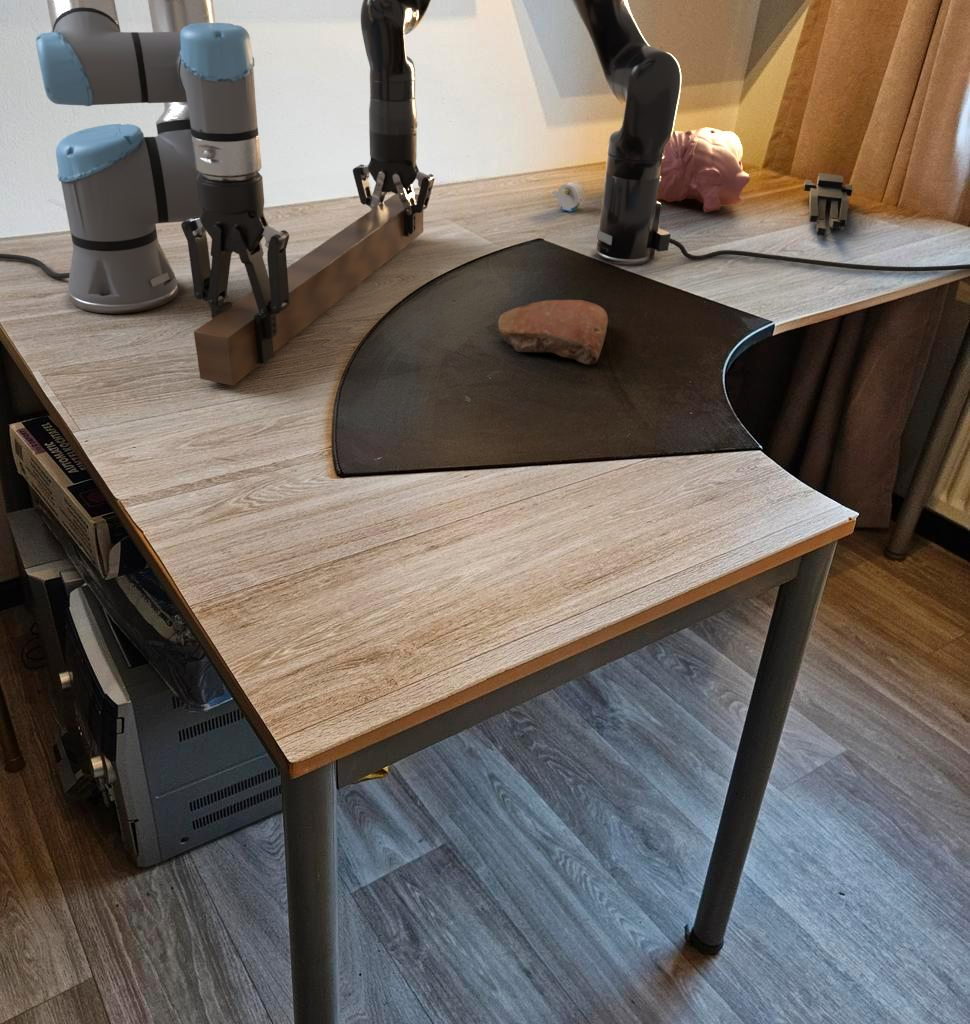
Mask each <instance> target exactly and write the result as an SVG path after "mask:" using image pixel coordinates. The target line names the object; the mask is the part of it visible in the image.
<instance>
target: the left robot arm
mask: <svg viewBox="0 0 970 1024" xmlns="http://www.w3.org/2000/svg"><path fill="white" fill-rule="evenodd" d="M46 3H47V11H48V15H49V20H50V26H51V31H50V32H42V33H41V32H40V33H39V34H38V35H37V36H36V37H35V43H36V44H35V45H36V51H37V57H38V62H39V68H40V74H41V77H42V82H43V87H44V91H45V94H46V97H47V98H48V100H49V101H50V102H52V103H53V104H56V105H62V106H85V107H91V106H100V105H101V106H102V105H103V106H106V105H122V104H123V105H124V104H164V110H163V112H162V114H161V115H160V116H159V117H158V119H157V120H156V122H155V126H156V134H157V136H144V132H143V131H142V129H141V128H140V126H138V125H135V124H131V123H130V124H129V123H126V124H121V123H111V124H104V125H97V126H92V127H88V128H83V129H81V130H77V131H75V132H73V133H70V134H67V136H65V137H63V138H62V139H61V140H60V141H59V142H58V144H57V146H56V148H55V156H56V157H55V158H56V163H57V172H58V173H57V179H58V181H59V182H60V184H61V190H62V193H63V199H64V205H65V210H66V216H67V221H68V226H69V232H70V236H71V241H72V253H71V263H70V270H69V272H63V273H62V272H61V273H59V272H55V271H52V270H50V268H49V267H48V266H47V265H46V264H45V263H44V262H42V261H41V260H39V259H37V258H34V257H31V256H26V255H22V254H10V253H0V260H13V261H22V262H25V263H30V264H34V265H36V266H38V267H39V268H41V270H42V271H43V272H44V273H45V274H46V275H47V276H49V277H51V278H54V279H60V280H61V279H68V282H67V283H68V287H67V288H68V295H69V300H70V302H71V303H72V304H73V305H74V306H75V307H77V308H79V309H81V310H83V311H88V312H92V313H99V314H110V315H115V314H117V315H118V314H131V313H140V312H144V311H145V312H146V311H149V310H152V309H156V308H158V307H162V306H164V305H166V304H168V303H170V302H171V301H173V300H174V299H175V298H176V297H177V295H178V293H179V288H178V281H177V277H176V275H175V272H174V270H173V268H172V267H171V264H170V262H169V260H168V257H167V256H166V254H165V253H164V250H163V248H162V246H161V244H160V242H159V239H158V233H157V226H156V225H157V224H166V223H167V224H169V223H181V224H180V226H181V230H182V232H183V234H184V237H185V239H186V242H187V247H188V255H189V264H190V271H191V279H192V286H193V294H194V297H195V299H197V300H198V301H201V300H202V301H204V302H206V303H207V305H208V306H209V308H210V314H211V319H213V318H214V317H216V316H217V315H219V314H220V313H222V312H223V311H224V310H226V309H227V308H229V307H230V306H232V305H233V302H232V301H227V300H228V299H229V298H230V295H227V294H228V285H229V277H230V270H231V260H232V254H233V253H235V254H237V255H238V256H239V259H240V262H241V263H242V264H244V268H245V271H246V275H247V277H248V280H249V283H250V287H251V290H252V291H253V294H254V297H255V300H256V303H257V307H258V310H259V313H257V314H256V315H254V322H255V333H256V343H257V354H258V364H259V365H265V364H266V363H267V362H269V361H270V360H271V359H272V358H274V357H275V352H274V351H273V339H272V338H273V337H275V336H276V334H277V323H276V314H279V313H280V312H282V311H283V310H284V309H286V308H287V307H288V306H289V304H290V302H289V288H288V274H287V267H288V261H287V246H288V243H289V239H290V234H289V232H288V231H287V230H284V229H283V230H281V231H278V230H276V229H275V228H273V227H271V226H269V222H268V219H267V218H266V215H265V213H264V209H265V208H264V207H265V193H264V192H265V191H264V181H263V180H264V179H263V175H262V174H260V171H261V170H262V168H263V167H262V166H263V165H262V158H261V157H262V155H261V147H260V145H261V144H260V134H259V128H258V116H257V115H258V114H257V100H256V85H255V71H254V67H255V57H254V56H253V52H252V51H253V50H252V44H251V37H250V33H249V32H248V30H247V29H246V28H245V27H243V26H242V25H237V24H234V23H227V22H216V17H215V15H216V14H215V9H214V2H213V0H147V3H148V9H149V10H148V11H149V15H150V23H151V29H152V31H151V32H149V31H148V32H147V31H142V32H137V31H129V32H127V31H125V32H124V31H122V30H121V25H120V21H119V15H118V12H117V6H116V2H115V0H46ZM207 234H208V235H209V237H210V239H211V244H210V251H209V243H208V236H207ZM263 238H264V239H265V243H264V246H265V247H266V248H267V253H266V255H267V256H266V258H267V259H266V260H267V267H266V264H265V260H264V253H265V252H264V249H263V246H262V242H261V241H263V240H262V239H263ZM210 257H211V259H210Z"/></svg>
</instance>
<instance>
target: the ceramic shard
mask: <svg viewBox="0 0 970 1024" xmlns="http://www.w3.org/2000/svg"><path fill="white" fill-rule="evenodd" d="M497 323H498V331H499V334H500V335H501V337H502V339H503V341H505V342H506V343H507V345H510V346H512V348H513V349H514V351H515V352H518V353H551V354H555V355H556V356H558V357H561V358H566V359H572V360H574V361H577V362H579V363H582V364H583V365H594V364H596V363H597V362H598V360H599V358H600V355H601V352H602V349H603V347H604V342H605V339H606V335H607V328H608V323H609V318H608V313H607V311H606V310H605V309H604V308H603V307H601V306H600V305H599V304H596V303H593V302H590V301H587V300H584V299H546V300H542V301H536V302H531V303H528V304H527V305H520V306H518V307H514V308H512V309H509V310H508V311H504V312H503V313H501V315H500V316H499V319H498V321H497Z"/></svg>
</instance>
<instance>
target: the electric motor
mask: <svg viewBox="0 0 970 1024" xmlns="http://www.w3.org/2000/svg"><path fill="white" fill-rule="evenodd" d="M554 194H555V195H554ZM551 196H552V198H556V199H557V200H556V201H557V202H558V204H559V206H560V211H564V212H569V213H572V212H574V211H576V210H578V209H579V207H580V205H582V203H584V201H585V199H586V190H585V188H584V186H583V185H582V184H581V183H580V182H579V181H570V182H568V183H566V184H563V185H562V186H560V187H559V188H558V190H557V191H556V190H553V191H552V192H551Z"/></svg>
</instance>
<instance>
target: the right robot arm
mask: <svg viewBox="0 0 970 1024" xmlns="http://www.w3.org/2000/svg"><path fill="white" fill-rule="evenodd" d="M431 1H432V0H362V4H361V8H360V9H361V10H360V28H361V36H362V41H363V44H364V49H365V54H366V58H367V61H368V65H369V107H368V126H369V127H368V128H369V129H368V133H369V156H370V159H369V163H368V164H366V165H364V164H359V165H357V166H356V167H353V169H352V174H353V175H352V176H353V178H354V182H355V186H356V190H357V194H358V198H359V201H360V203H361V205H365V206H368V207H369V208H370V211H371V210H372V209H374V208H375V207H377V206H378V205H380V204H381V203H383V202H384V201H385V197H386V195H387V193H394V194H398V195H399V198H400V201H401V202H402V203H403V206H404V210H405V213H406V214H405V215H404V236H406V237H409V236H411V235H412V233H413V232H415V230H416V213H421V212H422V211H423V212H424V210H426V209H427V208H428V205H429V201H430V198H431V194H432V190H433V186H434V182H435V179H436V178H435V175H434V174H432V173H430V174H426V173H424V172H421V171H420V169H419V167H418V165H417V156H418V155H417V149H418V148H417V137H418V136H417V135H418V133H417V129H418V119H417V117H418V114H417V113H418V112H417V105H416V69H415V63H414V60H412V58H411V57H409V56H408V55H407V52H406V43H405V36H406V35H408V34H410V33H412V32H413V31H414V30H415V29H416V28H417V27H418V25H419V24H421V21H422V20H423V18H424V16H425V15H426V13H427V11H428V8H429V6H430V3H431ZM571 2H572V4H573V6H574V9H575V10H576V13H577V14H578V17H579V18H580V20H581V22H582V24H583V25H584V27H585V29H586V31H587V33H588V36H589V37H590V40H591V43H592V45H593V47H594V50H595V53H596V56H597V59H598V61H599V64H600V67H601V70H602V73H603V77H604V78H605V82H606V84H607V86H608V87H607V88H608V89H609V92H610V93H611V95H612V96H613V98H615V100H616V101H618V102H619V103H620V104H622V105H624V107H625V109H624V112H623V119H622V125H621V127H620V128H619V130H616V131H614V132H612V133H611V134H610V136H609V139H608V145H607V154H606V162H605V170H604V179H603V188H602V189H603V191H602V196H601V197H602V198H601V199H602V200H601V206H600V216H599V225H598V229H597V232H596V233H597V234H596V239H597V241H596V247H595V255H596V257H598V259H600V260H602V261H604V262H607V263H611V264H614V265H622V266H632V265H633V266H635V265H642V264H645V263H648V261H650V260H655V255H656V254H655V253H656V251H657V252H667V251H669V247H670V244H671V245H674V246H675V247H677V248H678V249H679V250H680V252H681V254H682V255H683V257H685V258H686V259H689V260H691V261H698V260H699V261H700V260H706V259H710V258H714V257H718V256H740V257H748V258H749V257H750V258H756V259H763V260H764V259H765V260H773V261H782V262H790V263H796V264H797V263H798V264H804V265H805V264H806V265H813V266H822V267H830V268H831V267H832V268H840V269H848V270H849V269H850V270H851V269H852V270H862V271H863V270H864V271H878V272H912V273H913V272H943V271H944V272H945V271H959V270H970V263H967V264H952V265H930V266H894V265H893V266H890V265H871V264H859V263H847V262H837V261H827V260H819V259H810V258H803V257H794V256H786V255H780V254H779V255H777V254H772V253H771V254H770V253H762V252H753V251H746V250H737V249H736V250H734V249H732V250H731V249H721V250H714V251H712V252H711V251H710V252H709V253H705V254H701V255H694V254H692V253H689V252H688V251H687V249H686V247H685V246H684V245H683V243H681V242H680V241H678V240H676V239H674V238H671V236H672V235H671V233H669V232H668V231H666V230H664V229H662V228H661V227H660V220H661V213H662V208H663V207H662V203H661V202H659V201H658V199H659V198H658V193H659V186H660V179H661V171H662V164H663V157H664V151H665V147H666V145H667V143H668V142H669V140H670V138H671V135H672V132H673V131H674V126H675V120H676V116H677V111H678V105H679V102H680V101H679V100H680V95H681V94H680V93H681V88H682V87H681V86H682V72H681V68H680V64H679V62H678V60H677V59H676V57H674V56H673V55H672V54H671V53H669V52H667V51H665V50H661V49H659V48H657V47H653V46H651V45H649V43H648V42H647V41H646V39H645V38H644V36H643V34H642V33H641V30H640V29H639V27H638V25H637V23H636V21H635V19H634V17H633V14H632V12H631V9H630V6H629V2H628V0H571ZM370 175H371V177H372V179H373V180H374V182H375V185H374V188H373V191H372V188H371V185H370V184H371V183H370V181H369V178H370ZM416 180H417V185H418V188H419V192H418V194H417V195H418V199H417V203H416V201H415V198H414V196H415V194H416V193H415V190H414V188H413V187H414V186H413V183H414V182H415V181H416Z"/></svg>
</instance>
